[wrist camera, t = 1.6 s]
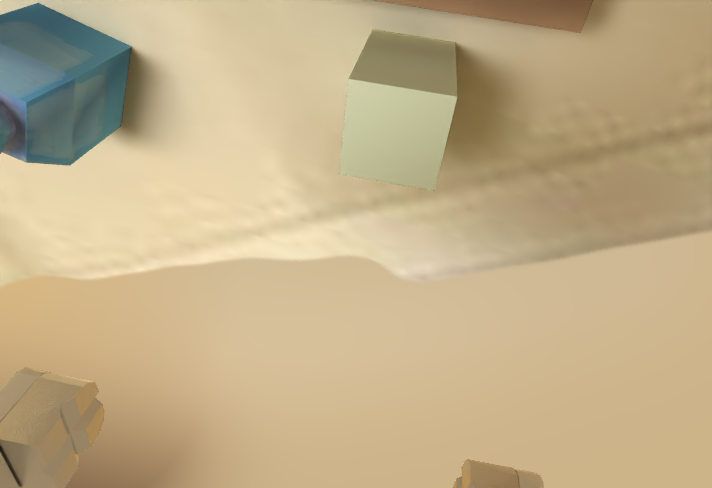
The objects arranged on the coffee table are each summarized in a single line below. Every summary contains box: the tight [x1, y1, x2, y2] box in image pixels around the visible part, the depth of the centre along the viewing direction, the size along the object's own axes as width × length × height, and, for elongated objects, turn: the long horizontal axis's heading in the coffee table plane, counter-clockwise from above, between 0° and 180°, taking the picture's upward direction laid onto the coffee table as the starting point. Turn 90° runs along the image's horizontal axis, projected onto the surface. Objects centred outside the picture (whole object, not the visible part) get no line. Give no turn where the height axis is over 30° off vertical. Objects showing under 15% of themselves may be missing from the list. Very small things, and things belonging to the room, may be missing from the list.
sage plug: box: [339, 29, 458, 191], centre depth 28 cm, size 5×5×9 cm
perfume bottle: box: [0, 3, 131, 165], centre depth 29 cm, size 6×6×12 cm
